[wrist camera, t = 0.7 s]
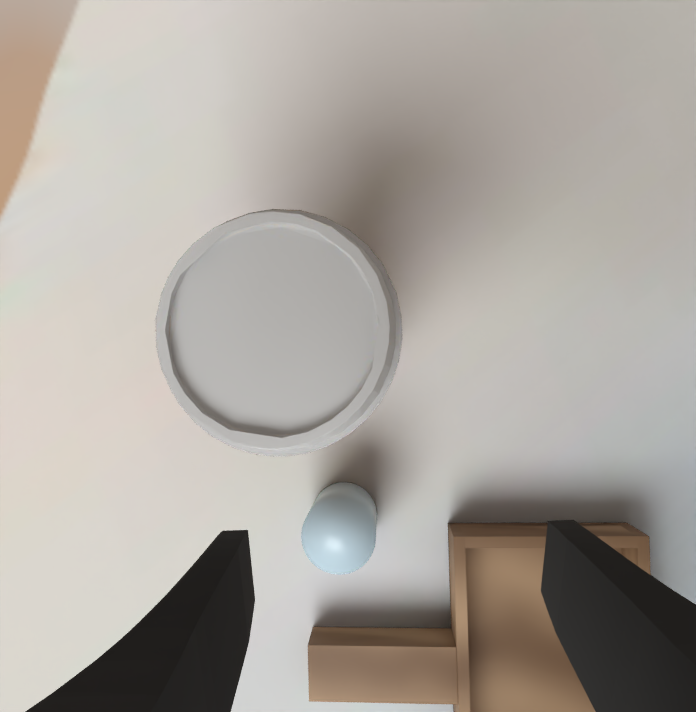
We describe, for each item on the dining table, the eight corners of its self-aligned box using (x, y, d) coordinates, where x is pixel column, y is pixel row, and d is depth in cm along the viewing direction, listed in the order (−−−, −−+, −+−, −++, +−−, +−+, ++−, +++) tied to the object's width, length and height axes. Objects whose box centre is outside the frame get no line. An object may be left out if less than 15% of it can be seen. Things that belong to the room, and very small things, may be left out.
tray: (637, 794, 28) (661, 834, 26) (316, 784, 29) (310, 820, 27) (626, 522, 29) (649, 536, 26) (310, 523, 30) (304, 537, 28)
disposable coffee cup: (375, 249, 30) (370, 170, 18) (411, 406, 30) (430, 431, 18) (222, 286, 31) (119, 232, 19) (254, 440, 30) (171, 486, 18)
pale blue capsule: (377, 547, 30) (376, 574, 26) (313, 547, 30) (302, 574, 26) (375, 481, 30) (374, 499, 26) (311, 482, 30) (300, 499, 26)
